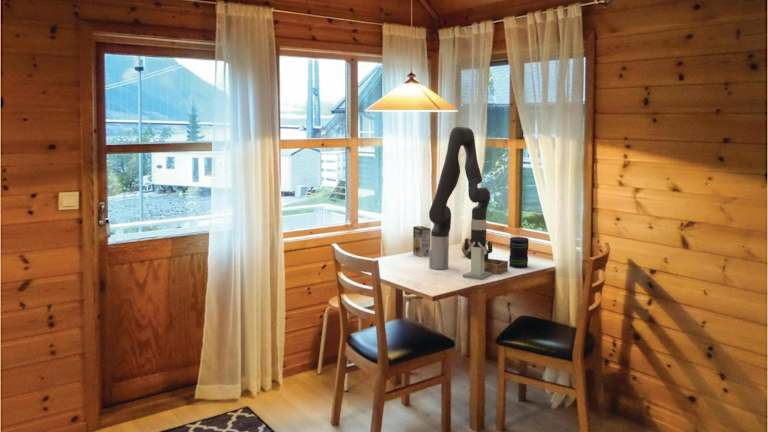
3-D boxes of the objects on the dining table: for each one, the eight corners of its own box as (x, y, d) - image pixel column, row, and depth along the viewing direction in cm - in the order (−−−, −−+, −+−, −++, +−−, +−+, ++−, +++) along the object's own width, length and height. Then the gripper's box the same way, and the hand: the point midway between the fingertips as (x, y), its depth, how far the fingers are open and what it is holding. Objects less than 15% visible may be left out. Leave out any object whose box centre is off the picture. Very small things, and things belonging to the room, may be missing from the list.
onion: (474, 260, 379) (481, 244, 379) (475, 259, 369) (481, 243, 370) (459, 254, 380) (465, 238, 381) (459, 253, 371) (466, 236, 371)
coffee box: (412, 254, 382) (412, 226, 380) (422, 253, 385) (422, 225, 382) (420, 257, 374) (421, 229, 372) (430, 256, 377) (430, 228, 375)
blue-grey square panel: (462, 277, 328) (462, 274, 328) (474, 272, 339) (474, 269, 338) (481, 279, 323) (481, 277, 323) (491, 274, 333) (492, 272, 333)
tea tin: (470, 273, 330) (471, 247, 328) (475, 271, 334) (475, 245, 332) (479, 275, 327) (480, 248, 325) (484, 273, 331) (485, 246, 329)
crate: (480, 271, 339) (480, 262, 339) (488, 267, 348) (489, 258, 347) (499, 274, 334) (499, 264, 333) (507, 270, 342) (507, 261, 341)
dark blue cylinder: (531, 266, 352) (532, 238, 350) (520, 269, 345) (521, 241, 343) (516, 263, 359) (517, 236, 357) (505, 265, 353) (506, 238, 351)
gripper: (462, 227, 328) (461, 259, 330) (488, 230, 320) (487, 263, 322) (469, 225, 334) (468, 257, 336) (495, 228, 326) (494, 260, 329)
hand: (477, 260), depth 329 cm, fingers open, 8 cm apart
